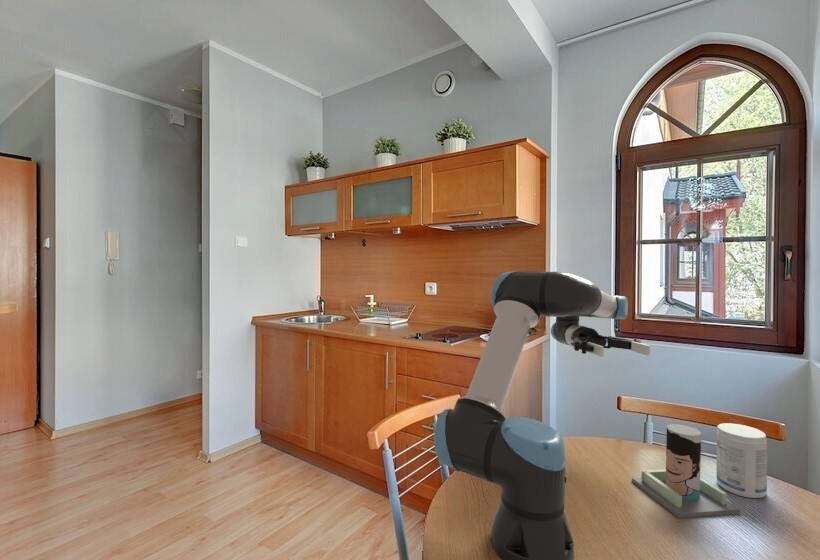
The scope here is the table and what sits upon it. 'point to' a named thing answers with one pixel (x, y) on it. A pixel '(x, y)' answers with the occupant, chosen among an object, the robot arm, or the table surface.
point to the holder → (706, 505)
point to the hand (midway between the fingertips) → (625, 351)
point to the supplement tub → (742, 460)
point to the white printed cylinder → (683, 460)
